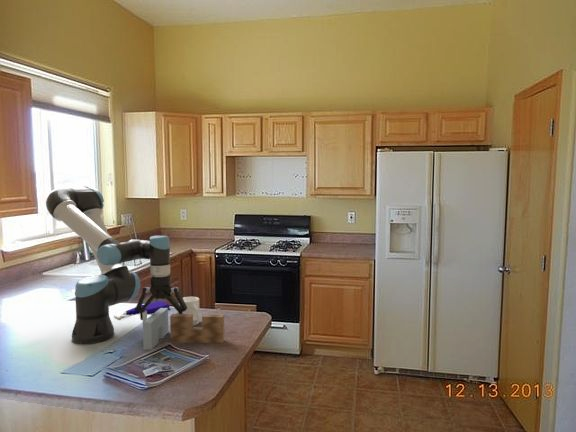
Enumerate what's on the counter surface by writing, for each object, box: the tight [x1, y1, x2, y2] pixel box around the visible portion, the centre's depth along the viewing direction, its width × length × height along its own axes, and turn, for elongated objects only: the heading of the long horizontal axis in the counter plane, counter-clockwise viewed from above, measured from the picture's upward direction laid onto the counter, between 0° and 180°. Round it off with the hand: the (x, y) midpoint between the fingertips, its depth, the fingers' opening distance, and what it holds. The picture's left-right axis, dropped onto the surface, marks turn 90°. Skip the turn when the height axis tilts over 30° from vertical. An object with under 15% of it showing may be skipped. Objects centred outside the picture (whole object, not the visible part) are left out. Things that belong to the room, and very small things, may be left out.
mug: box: [178, 296, 200, 327], centre depth 179 cm, size 9×12×11 cm
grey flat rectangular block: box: [142, 308, 169, 350], centre depth 160 cm, size 3×18×10 cm, turn 177°
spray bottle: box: [113, 300, 170, 320], centre depth 196 cm, size 3×11×24 cm
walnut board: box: [169, 313, 225, 344], centre depth 159 cm, size 20×3×10 cm, turn 87°
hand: (161, 328), depth 166 cm, fingers open, 13 cm apart
